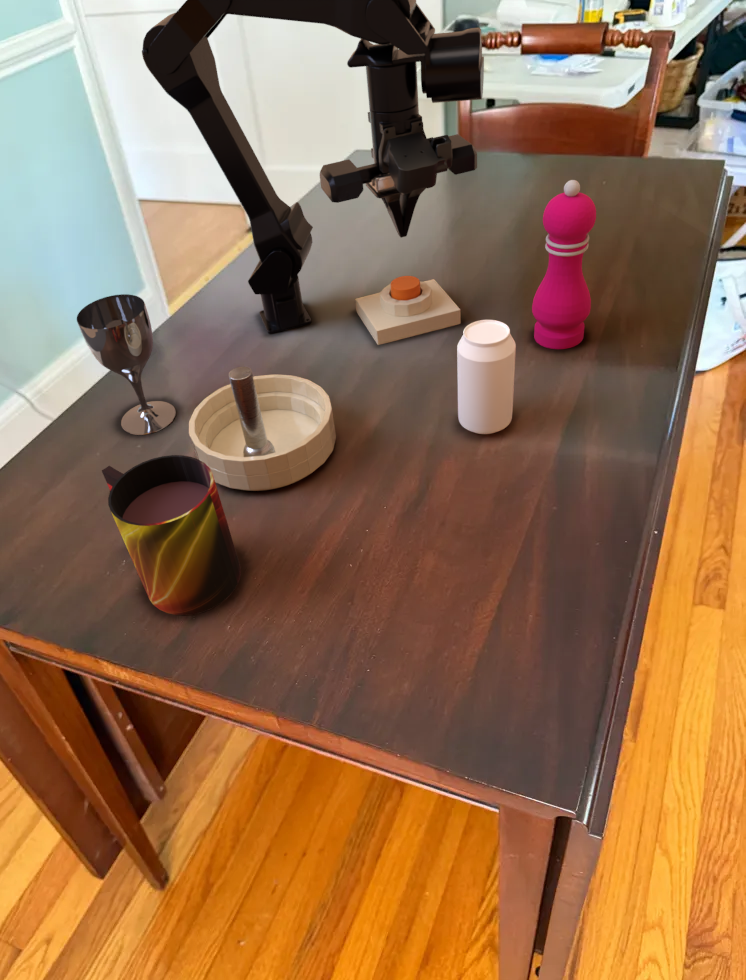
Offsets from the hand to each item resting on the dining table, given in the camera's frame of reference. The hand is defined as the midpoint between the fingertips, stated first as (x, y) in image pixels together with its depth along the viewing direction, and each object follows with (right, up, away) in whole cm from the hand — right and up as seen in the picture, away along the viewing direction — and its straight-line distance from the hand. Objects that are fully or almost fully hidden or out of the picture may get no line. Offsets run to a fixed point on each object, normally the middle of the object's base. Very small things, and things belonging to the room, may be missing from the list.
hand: (402, 236), depth 102 cm
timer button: (+1, -6, +6) cm, 8 cm away
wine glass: (-33, -24, -2) cm, 41 cm away
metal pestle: (-17, -31, -13) cm, 38 cm away
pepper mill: (+20, -13, +1) cm, 24 cm away
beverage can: (+9, -26, -10) cm, 29 cm away
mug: (-25, -43, -22) cm, 55 cm away
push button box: (+1, -8, +9) cm, 12 cm away
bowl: (-17, -29, -9) cm, 35 cm away
